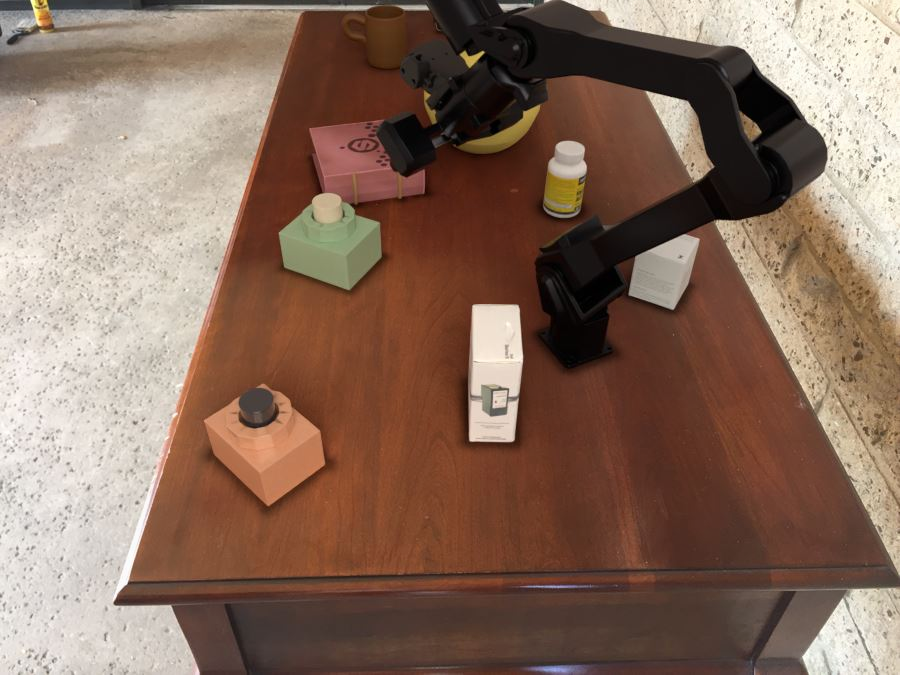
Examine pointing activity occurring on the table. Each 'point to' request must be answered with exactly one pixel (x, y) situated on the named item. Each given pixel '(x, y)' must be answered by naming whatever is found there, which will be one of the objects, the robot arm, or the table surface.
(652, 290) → the white cardboard box
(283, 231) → the green push button box
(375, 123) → the book
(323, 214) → the beige push button
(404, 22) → the mug
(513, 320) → the ink box
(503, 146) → the vase
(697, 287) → the table surface
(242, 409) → the dark grey push button
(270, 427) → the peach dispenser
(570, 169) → the supplement bottle
